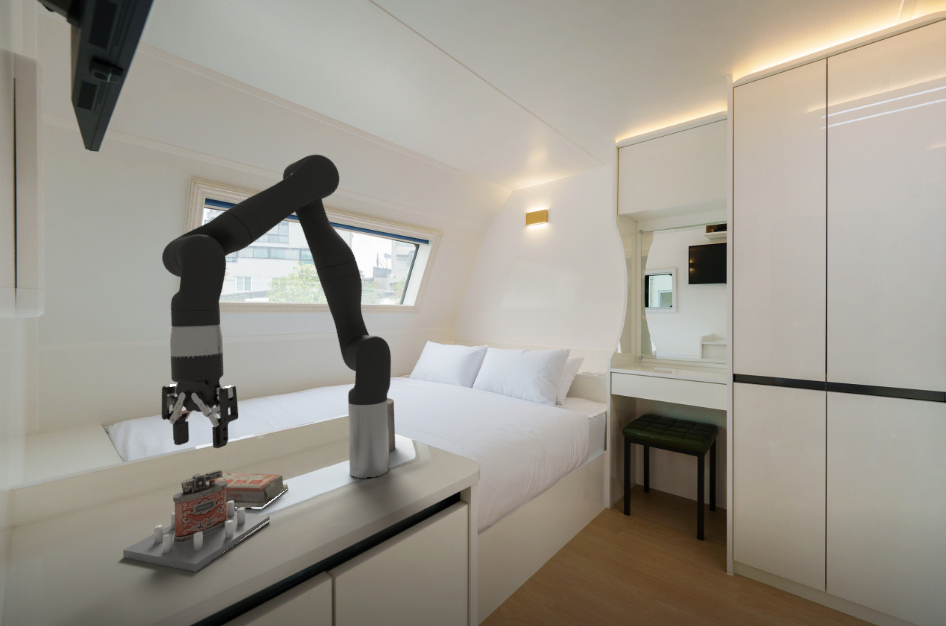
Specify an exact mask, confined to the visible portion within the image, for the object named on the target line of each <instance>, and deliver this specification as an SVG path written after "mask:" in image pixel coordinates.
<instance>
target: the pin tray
mask: <svg viewBox="0 0 946 626" xmlns="http://www.w3.org/2000/svg"><path fill="white" fill-rule="evenodd" d="M245 511H246V509H245V508H244V507H241V508H238V509H236V510H235V509H234V501H228V502H227V518H228V521H226V522H225V527H223V528H221V529H219V530H216V531H214V532H212V533H209V534H207V535H204V536H203V532H201V531H200V532H196V533H194V539H193V540H190V541H186V542H183V543H175V542H174V535H175V511H174V512H172V513H171V514H170V525H169V526H166V527H165V528H164V525H163V524H159V525H156V526H154V527H153V534H152V535H149V536H147V537H145V538H143V539H142V540H140V541H138V542H136V543H134V544H132V545H130V546H129V547H126V548H124V549H123V550H122V553H123V556H122V557H123V558H125V559H128V560H129V559H130V560H136V561H141V562H145V563H150V564H155V565H161V566H165V567H170V568H174V569H180V570H184V571H189V572H195V573H196V572H198V571H199V570H201V569H202V568H204V567H205V566H207V565H208V564H210V563H211V562H213V561H214V560H216V559H217V558H219V557H220V556H222V555H223V554H224V553H223V552H224V551H226V550H227V549H229V548H231V547H232V546H234V545H235V544H236V543H238V542H239V541H240V540H241V539H243V538H244V537H245V536H246V535H248V534H249V533H251V532H252V531H253V530H255V529H256V528H258V527H259V526H260V525H262V524H263V523H265V522H266V521H268V520H270V518H271V517H270V515H264V514H257V513H251V512H245ZM270 521H271V520H270ZM238 544H239V543H238ZM235 546H236V545H235ZM235 546H234V547H235ZM232 548H233V547H232ZM232 548H231V549H232ZM229 550H230V549H229ZM226 552H227V551H226ZM222 553H223V554H222ZM221 554H222V555H221ZM218 556H219V557H218ZM215 558H216V559H215ZM213 559H214V560H213ZM212 560H213V561H212Z"/></svg>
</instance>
